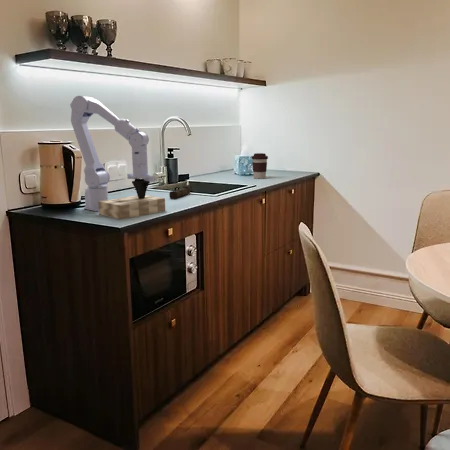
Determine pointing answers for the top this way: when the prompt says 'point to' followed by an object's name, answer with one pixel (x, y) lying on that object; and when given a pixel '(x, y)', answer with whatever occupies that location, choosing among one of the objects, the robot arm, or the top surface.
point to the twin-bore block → (131, 206)
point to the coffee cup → (259, 165)
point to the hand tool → (180, 192)
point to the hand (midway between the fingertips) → (141, 198)
